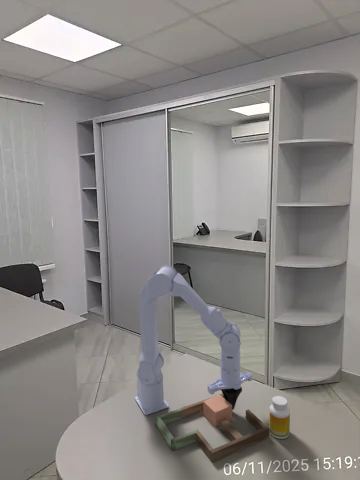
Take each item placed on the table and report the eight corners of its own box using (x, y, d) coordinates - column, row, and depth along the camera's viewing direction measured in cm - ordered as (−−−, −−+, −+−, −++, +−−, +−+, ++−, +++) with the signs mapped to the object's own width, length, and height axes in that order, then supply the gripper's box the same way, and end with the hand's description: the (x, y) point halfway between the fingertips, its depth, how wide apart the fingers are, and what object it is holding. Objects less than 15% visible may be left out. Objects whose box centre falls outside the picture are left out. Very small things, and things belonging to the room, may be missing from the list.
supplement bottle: (290, 440, 92) (291, 407, 91) (269, 438, 94) (270, 405, 92) (288, 426, 98) (289, 395, 96) (268, 424, 99) (269, 393, 97)
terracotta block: (203, 414, 103) (203, 401, 103) (219, 407, 106) (219, 394, 106) (215, 426, 98) (215, 412, 98) (232, 419, 101) (232, 405, 101)
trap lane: (156, 424, 100) (155, 416, 100) (228, 398, 111) (228, 391, 110) (187, 473, 83) (186, 464, 83) (269, 436, 94) (269, 428, 94)
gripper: (216, 379, 95) (217, 424, 98) (258, 365, 102) (258, 407, 104) (203, 367, 102) (204, 409, 104) (244, 355, 108) (243, 395, 110)
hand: (230, 408), depth 104 cm, fingers closed
